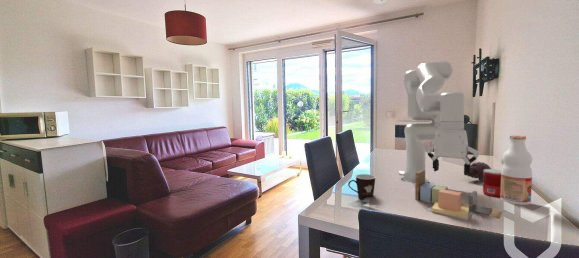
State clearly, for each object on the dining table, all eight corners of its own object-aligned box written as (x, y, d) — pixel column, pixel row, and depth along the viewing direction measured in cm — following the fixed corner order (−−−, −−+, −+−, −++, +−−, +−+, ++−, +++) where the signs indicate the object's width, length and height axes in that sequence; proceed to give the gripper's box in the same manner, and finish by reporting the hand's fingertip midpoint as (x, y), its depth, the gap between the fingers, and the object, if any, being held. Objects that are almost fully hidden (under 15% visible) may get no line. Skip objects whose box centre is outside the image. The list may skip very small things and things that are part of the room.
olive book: (431, 202, 106) (431, 188, 106) (436, 198, 111) (437, 184, 110) (442, 205, 103) (442, 190, 103) (447, 200, 108) (447, 186, 107)
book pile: (426, 214, 98) (426, 206, 98) (434, 207, 105) (434, 200, 104) (466, 224, 89) (467, 216, 89) (472, 216, 95) (473, 208, 95)
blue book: (420, 200, 109) (420, 186, 109) (425, 196, 114) (425, 182, 113) (430, 202, 107) (430, 188, 106) (435, 198, 111) (435, 184, 111)
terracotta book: (458, 211, 93) (458, 195, 93) (438, 207, 98) (438, 191, 97) (461, 208, 96) (461, 192, 95) (441, 204, 100) (441, 189, 100)
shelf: (415, 202, 110) (415, 173, 109) (422, 198, 116) (422, 169, 115) (499, 222, 90) (500, 186, 89) (502, 215, 96) (503, 181, 95)
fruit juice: (495, 199, 112) (498, 134, 110) (522, 200, 109) (525, 134, 107) (506, 207, 103) (509, 137, 101) (536, 209, 100) (539, 137, 98)
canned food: (509, 198, 113) (510, 173, 112) (488, 197, 114) (489, 172, 113) (498, 192, 120) (499, 169, 119) (479, 191, 122) (480, 168, 121)
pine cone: (469, 183, 134) (469, 164, 133) (457, 178, 144) (457, 160, 143) (503, 182, 134) (504, 163, 133) (489, 177, 144) (489, 159, 143)
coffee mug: (375, 195, 121) (375, 174, 120) (375, 202, 112) (375, 179, 112) (350, 193, 124) (349, 173, 124) (348, 199, 116) (347, 178, 115)
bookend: (468, 211, 97) (469, 195, 96) (472, 205, 102) (473, 190, 101) (488, 215, 92) (489, 199, 92) (492, 209, 97) (492, 194, 97)
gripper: (422, 126, 98) (422, 171, 99) (478, 127, 85) (477, 178, 86) (429, 125, 103) (428, 167, 104) (482, 126, 90) (481, 174, 92)
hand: (450, 172), depth 95 cm, fingers open, 9 cm apart
